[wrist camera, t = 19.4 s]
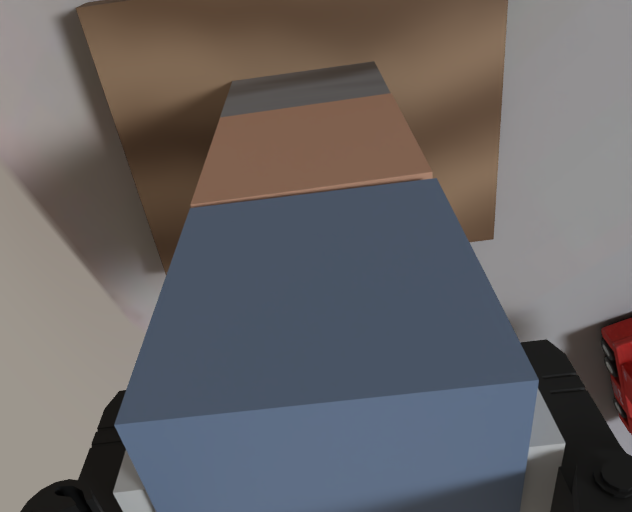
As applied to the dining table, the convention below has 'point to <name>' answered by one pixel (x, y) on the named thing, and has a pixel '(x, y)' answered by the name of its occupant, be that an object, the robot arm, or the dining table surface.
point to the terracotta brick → (310, 151)
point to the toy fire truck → (620, 366)
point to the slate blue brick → (330, 363)
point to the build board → (292, 35)
